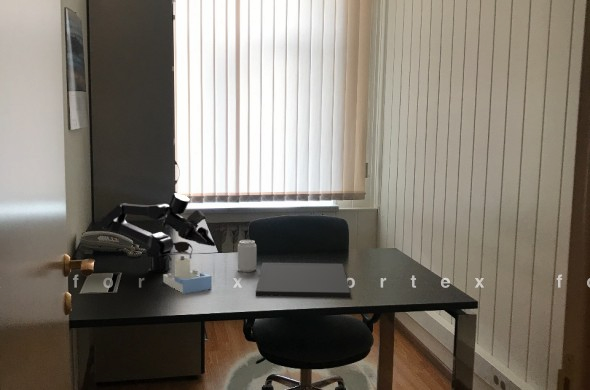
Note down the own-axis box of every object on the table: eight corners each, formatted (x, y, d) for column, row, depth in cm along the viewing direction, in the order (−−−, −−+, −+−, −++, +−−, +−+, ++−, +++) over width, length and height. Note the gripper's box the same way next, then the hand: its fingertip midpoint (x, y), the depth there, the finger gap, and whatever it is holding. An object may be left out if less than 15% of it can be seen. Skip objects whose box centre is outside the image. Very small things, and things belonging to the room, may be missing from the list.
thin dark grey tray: (342, 269, 259) (262, 268, 259) (342, 263, 259) (262, 262, 259) (349, 299, 219) (255, 297, 219) (350, 292, 219) (255, 291, 219)
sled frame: (163, 282, 235) (163, 269, 234) (190, 278, 241) (190, 265, 240) (183, 294, 220) (183, 280, 220) (211, 289, 227) (211, 275, 226)
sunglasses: (188, 251, 287) (187, 240, 286) (197, 258, 273) (196, 247, 272) (158, 253, 281) (157, 242, 281) (165, 261, 267) (165, 250, 266)
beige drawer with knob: (175, 283, 234) (174, 256, 232) (186, 281, 236) (186, 254, 235) (179, 285, 231) (178, 258, 230) (190, 283, 234) (190, 256, 232)
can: (253, 273, 249) (253, 243, 248) (235, 271, 251) (235, 242, 249) (258, 268, 256) (258, 239, 255) (240, 267, 258) (240, 238, 256)
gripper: (180, 201, 236) (212, 221, 232) (199, 210, 254) (229, 229, 249) (164, 227, 236) (196, 247, 231) (185, 233, 254) (215, 253, 249)
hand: (210, 243), depth 240 cm, fingers open, 9 cm apart
